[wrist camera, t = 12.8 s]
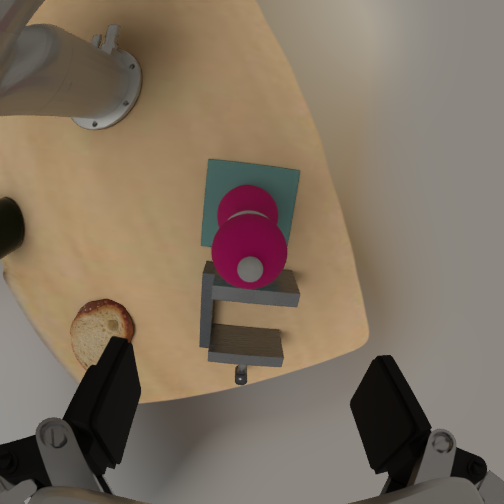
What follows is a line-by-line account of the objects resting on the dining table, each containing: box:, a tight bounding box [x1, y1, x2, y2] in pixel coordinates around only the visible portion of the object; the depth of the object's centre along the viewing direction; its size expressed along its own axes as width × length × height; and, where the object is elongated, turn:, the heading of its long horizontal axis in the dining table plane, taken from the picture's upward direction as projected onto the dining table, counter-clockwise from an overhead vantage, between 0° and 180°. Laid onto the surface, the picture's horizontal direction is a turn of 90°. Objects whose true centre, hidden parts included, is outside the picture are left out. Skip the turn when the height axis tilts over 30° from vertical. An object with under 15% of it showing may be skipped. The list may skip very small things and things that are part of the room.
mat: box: [201, 159, 300, 247], centre depth 37 cm, size 12×12×1 cm
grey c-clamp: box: [200, 261, 300, 385], centre depth 41 cm, size 20×13×7 cm, turn 173°
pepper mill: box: [212, 185, 287, 289], centre depth 28 cm, size 7×7×20 cm
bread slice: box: [70, 299, 133, 370], centre depth 45 cm, size 18×18×4 cm
